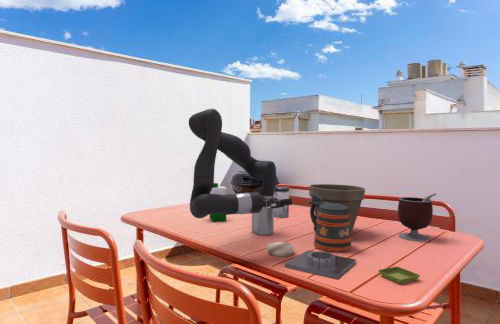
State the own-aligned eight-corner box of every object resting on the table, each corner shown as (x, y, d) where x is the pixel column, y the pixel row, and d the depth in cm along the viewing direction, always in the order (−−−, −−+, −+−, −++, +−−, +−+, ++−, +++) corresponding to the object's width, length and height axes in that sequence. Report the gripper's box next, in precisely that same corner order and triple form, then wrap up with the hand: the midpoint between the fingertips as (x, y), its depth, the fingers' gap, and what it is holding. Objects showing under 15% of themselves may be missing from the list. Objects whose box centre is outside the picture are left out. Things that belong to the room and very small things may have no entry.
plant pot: (362, 228, 169) (363, 184, 168) (365, 242, 145) (366, 190, 144) (311, 225, 176) (311, 182, 175) (305, 237, 152) (306, 188, 151)
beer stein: (297, 244, 141) (298, 195, 140) (318, 237, 152) (319, 192, 151) (338, 255, 128) (339, 201, 127) (358, 247, 138) (359, 197, 137)
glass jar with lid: (270, 216, 129) (270, 187, 128) (278, 214, 134) (278, 186, 133) (284, 219, 126) (284, 188, 125) (291, 216, 130) (292, 187, 130)
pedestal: (262, 253, 129) (262, 246, 129) (275, 246, 137) (275, 240, 137) (285, 258, 123) (285, 251, 123) (298, 251, 132) (298, 244, 131)
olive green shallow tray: (397, 272, 111) (397, 266, 111) (420, 281, 104) (421, 275, 104) (377, 276, 108) (377, 270, 108) (400, 287, 100) (400, 279, 100)
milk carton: (207, 219, 188) (207, 182, 187) (223, 218, 191) (223, 182, 190) (212, 222, 180) (212, 184, 179) (228, 221, 183) (228, 183, 182)
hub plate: (284, 266, 115) (284, 257, 114) (308, 253, 129) (308, 244, 129) (337, 279, 104) (337, 268, 104) (356, 262, 119) (356, 253, 119)
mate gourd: (402, 241, 147) (403, 194, 146) (393, 233, 161) (394, 190, 160) (441, 242, 145) (442, 195, 144) (428, 234, 159) (430, 191, 158)
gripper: (255, 195, 117) (297, 193, 124) (238, 190, 130) (277, 188, 137) (255, 217, 117) (297, 213, 124) (238, 210, 130) (277, 207, 137)
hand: (287, 200), depth 131 cm, fingers closed on glass jar with lid, 5 cm apart
